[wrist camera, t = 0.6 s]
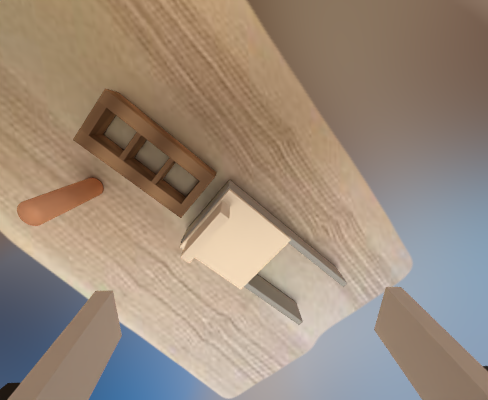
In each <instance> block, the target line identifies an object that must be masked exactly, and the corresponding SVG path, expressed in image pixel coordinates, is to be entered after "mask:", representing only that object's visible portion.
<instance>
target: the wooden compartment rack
mask: <svg viewBox="0 0 488 400" xmlns="http://www.w3.org/2000/svg"><path fill="white" fill-rule="evenodd" d="M115 115H117V116H118V117H119V118H120V119H122V120H123V121H124V122H126V123H127V124H128V125H129V126H131V127H132V128H133V129H134V130H136V131H137V132H136V134H135V135H134V137H133V138H132V140H131V141H130V142H129V144H128V145H127V147H126V148H125V150H123V149H121V148H120V147H119V146H117V145H116V144H115V143H113V142H112V141H111V140H109V139H108V138H107V137H106V136H104V135H103V133H104V132H105V130H106V129H107V127H108V126H109V124H110V123H111V121H112V120H113V118H114V117H115ZM73 140H74V141H75V142H77V143H78V144H80V145H81V146H82V147H84V148H85V149H86V150H88V151H89V152H91V153H92V154H93V155H95V156H96V157H97V158H99V159H100V160H102V161H103V162H104V163H106V164H107V165H109V166H110V167H111V168H113V169H114V170H115V171H117V172H118V173H120V174H121V175H122V176H124V177H125V178H126V179H128V180H129V181H131V182H132V183H133V184H135V185H136V186H137V187H139V188H140V189H142V190H143V191H144V192H146V193H147V194H148V195H150V196H151V197H153V198H154V199H155V200H157V201H158V202H159V203H161V204H162V205H164V206H165V207H166V208H168V209H169V210H171V211H172V212H173V213H175V214H176V215H177V216H179V217H180V218H181V217H182V216H183V215H184V214H185V212H186V211H187V210H188V209H189V208H190V206H191V205H192V204H193V203H194V202H195V200H196V199H197V198H198V197H199V196H200V194H201V193H202V192H203V191H204V190H205V188H206V187H207V186H208V185H209V184H210V182H211V181H212V180H213V179H214V178H215V176H216V172H215V171H214V170H213V169H211V168H210V167H209V166H208V165H207V164H205V163H204V162H203V161H202V160H200V159H199V158H198V157H197V156H196V155H194V154H193V153H192V152H191V151H189V150H188V149H187V148H186V147H185V146H183V145H182V144H181V143H180V142H178V141H177V140H176V139H175V138H174V137H172V136H171V135H170V134H169V133H167V132H166V131H165V130H164V129H162V128H161V127H160V126H159V125H158V124H156V123H155V122H154V121H153V120H151V119H150V118H149V117H148V116H147V115H145V114H144V113H143V112H142V111H140V110H139V109H138V108H137V107H136V106H134V105H133V104H132V103H131V102H129V101H128V100H127V99H126V98H125V97H123V96H122V95H121V94H120V93H118V92H115V91H112V90H108V89H105V90H104V91H103V93H102V95H101V96H100V98H99V99H98V101H97V102H96V104H95V106H94V107H93V109H92V110H91V112H90V114H89V115H88V117H87V118H86V120H85V121H84V123H83V125H82V126H81V128H80V129H79V131H78V133H77V134H76V136H75V137H74V139H73ZM146 140H148V141H150V142H151V143H152V144H153V145H155V146H156V147H157V148H158V149H160V150H161V151H162V152H163V153H165V154H166V155H167V156H169V157H170V158H169V159H168V160H167V162H166V163H165V164H164V166H163V167H162V168H161V170H160V171H159V172H158V174H157V175H156V174H154V173H153V172H152V171H150V170H149V169H148V168H147V167H145V166H144V165H143V164H141V163H140V162H139V161H137V160H136V159H135V158H134V157H135V155H136V154H137V152H138V151H139V150H140V148H141V147H142V146H143V144H144V143H145V141H146ZM175 163H177V164H179V165H180V166H181V167H182V168H184V169H185V170H186V171H188V172H189V173H190V174H191V175H193V176H194V177H195V178H196V179H198V180H199V182H198V183H197V184H196V186H195V187H194V188H193V189H192V191H191V192H190V193H189V194H188V195H187V197H185V196H184V195H182V194H181V193H180V192H178V191H177V190H176V189H174V188H173V187H172V186H170V185H169V184H168V183H166V182H165V181H164V180H163V178H164V177H165V176H166V174H167V173H168V172H169V170H170V169H171V168H172V167H173V165H174V164H175Z"/></svg>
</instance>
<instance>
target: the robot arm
mask: <svg viewBox="0 0 488 400" xmlns="http://www.w3.org/2000/svg"><path fill="white" fill-rule="evenodd" d="M374 330H375V331H376V333H377V334H378V336H379V337H380V339H381V340H382V342H383V343H384V345H385V346H386V348H387V349H388V350H389V352H390V353H391V355H392V356H393V358H394V359H395V361H396V362H397V364H398V365H399V366H400V368H401V369H402V371H403V372H404V374H405V375H406V377H407V378H408V380H409V381H410V382H411V384H412V385H413V387H414V388H415V390H416V391H417V392H418V394H419V396H420V397H421V398H422V400H488V366H482V365H480V364H479V363H478V362H477V361H476V360H475V359H474V358H473V357H472V356H471V355H470V354H469V353H468V352H467V351H466V350H465V349H464V348H463V347H462V346H461V345H460V344H459V343H458V342H457V341H456V340H455V339H454V338H453V337H452V336H450V334H449V333H448V332H446V330H445V329H443V328H442V327H441V326H440V325H439V324H438V323H437V322H436V321H435V320H434V319H433V318H432V317H431V316H430V315H429V314H428V313H427V312H426V311H425V310H424V309H423V308H422V307H421V306H420V305H419V304H418V303H417V302H416V301H415V300H414V299H413V298H412V297H411V296H410V295H409V294H408V293H406V292H405V291H404V290H403V289H402V288H401V287H386V289H385V292H384V296H383V300H382V303H381V307H380V311H379V314H378V318H377V321H376V325H375V329H374ZM120 338H121V330H120V325H119V319H118V314H117V309H116V304H115V299H114V294H113V291H95V293H94V294H93V295H92V296H91V297H90V299H89V300H88V301H87V302H86V304H85V305H84V306H83V307H82V308H81V310H80V311H79V312H78V313H77V315H76V316H75V317H74V319H73V320H72V321H71V322H70V323H69V325H68V326H67V327H66V328H65V329H64V331H63V332H62V333H61V334H60V336H59V337H58V338H57V339H56V340H55V342H54V343H53V344H52V345H51V347H50V348H49V349H48V350H47V352H46V353H45V354H44V355H43V356H42V358H41V359H40V360H39V361H38V363H37V364H36V365H35V366H34V368H33V369H32V370H31V371H30V372H29V374H28V375H27V376H26V377H25V379H24V380H23V381H22V382H21V383H7V384H6V385H5V386H4V387H3V388H1V389H0V400H88V399H89V397H90V395H91V394H92V392H93V390H94V388H95V386H96V384H97V382H98V380H99V378H100V376H101V374H102V372H103V371H104V369H105V367H106V365H107V363H108V361H109V359H110V357H111V355H112V353H113V351H114V349H115V347H116V346H117V344H118V342H119V340H120Z"/></svg>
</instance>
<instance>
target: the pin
mask: <svg viewBox="0 0 488 400" xmlns="http://www.w3.org/2000/svg"><path fill="white" fill-rule="evenodd" d="M102 192H103V185H102V183H101V182H100V181H99V180H97V179H95V178H88V179H85V180H82V181H80V182H77V183H74V184H71V185H68V186H65V187H63V188H60V189H57V190H54V191H51V192H49V193H46V194H43V195H40V196H37V197H34V198H32V199H29V200H26V201H23V202H21V203H20V204H19V205H18V207H17V213H18V215H19V217H20V219H21V220H22V221H24V222H25V223H27V224H29V225H32V226H38V225H41V224H43V223H45V222H47V221H49V220H51V219H53V218H55V217H57V216H59V215H61V214H63V213H65V212H67V211H69V210H71V209H73V208H75V207H77V206H79V205H81V204H83V203H85V202H87V201H88V200H90V199H92V198H94V197H96V196H98V195H100V194H101V193H102Z"/></svg>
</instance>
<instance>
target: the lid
mask: <svg viewBox="0 0 488 400" xmlns="http://www.w3.org/2000/svg"><path fill="white" fill-rule="evenodd" d="M290 241H291V239H290V237H289V236H288V235H286V234H285V233H284V232H283V231H282V230H280V229H279V228H278V227H277V226H275V225H274V224H273V223H272V222H270V221H269V220H268V219H267V218H266V217H264V216H263V215H262V214H261V213H259V212H258V211H257V210H256V209H254V208H253V207H252V206H251V205H250V204H248V203H247V202H246V201H245V200H243V199H242V198H241V197H240V196H238V195H237V194H236V193H235V192H233V191H232V190H231V189H230V188H229V189H228V190H227V191H226V193H225V194H224V195H223V196H222V197H221V198H220V200H219V201H218V202H217V203H216V204H215V205H214V206H213V208H212V209H211V210H210V211H209V212H208V213H207V215H206V216H205V217H204V218H203V219H202V220H201V221H200V223H199V224H198V225H197V226H196V227H195V228H194V230H193V231H192V232H191V233H190V234H189V235H188V236H187V238H186V239H185V240H184V241H183V242H182V243H181V245H180V248H181V249H183V252H182V255H181V257H180V258H182V259H183V260H185V261H186V262H188V263H190V262H191V261H192V260H193V259H194V258H196V259H197V260H199V261H200V262H201V263H203V264H204V265H206V266H207V267H209V268H210V269H212V270H213V271H215V272H216V273H217V274H219V275H220V276H222V277H223V278H225V279H226V280H228V281H229V282H231V283H232V284H233V285H235V286H236V287H238V288H239V289H242V288H243V287H244V286H245V285H246V284H247V283H248V282H249V281H250V280H251V279H252V278H253V277H254V276H255V275H256V274H257V273H258V272H259V271H260V270H261V269H262V268H263V267H264V266H265V265H266V264H267V263H268V262H269V261H270V260H271V259H272V258H273V257H274V256H275V255H276V254H277V253H278V252H279V251H280V250H281V249H282V248H283V247H285V246H286V245H287V244H288V243H289V242H290Z"/></svg>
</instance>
